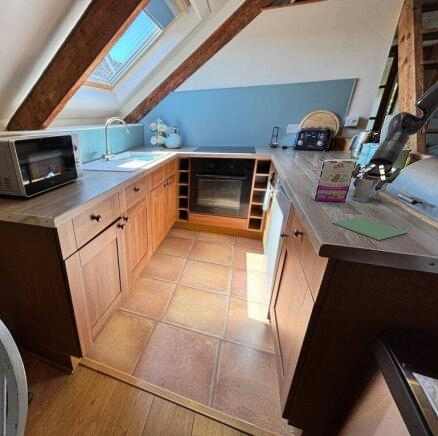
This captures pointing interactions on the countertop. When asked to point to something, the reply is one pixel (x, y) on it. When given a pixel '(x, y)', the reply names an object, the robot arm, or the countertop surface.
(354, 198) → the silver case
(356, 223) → the green mat
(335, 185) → the candy bar box
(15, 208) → the countertop surface
